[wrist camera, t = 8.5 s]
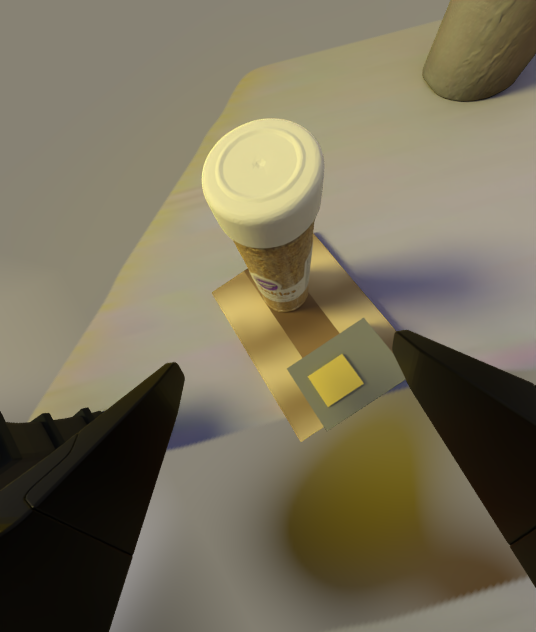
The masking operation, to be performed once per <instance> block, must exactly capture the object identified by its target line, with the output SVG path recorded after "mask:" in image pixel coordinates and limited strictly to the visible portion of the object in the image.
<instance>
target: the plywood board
mask: <svg viewBox="0 0 536 632" xmlns="http://www.w3.org/2000/svg"><path fill="white" fill-rule="evenodd" d="M308 287H309V290H308V296H307V298H306V300H305V302H304V303H303V304H302V305H301V306H300V307H299V308H297V309H296V310H293V311H289V312H278V311H276V310H273V309H272V308H270V307H269V306H268V305H267V304H266V302H265V301H264V299H263V297H262V293H261V292H260V291H259V289H258V287H257V285H256V284H255V282H254V280H253V278H252V276H251V274H250V272H249V269H246V270H245V271H243V272H242V273H240V274H239V275H237V276H236V277H234V278H233V279H231V280H230V281H228V282H227V283H225V284H224V285H222V286H221V287H219V288H218V289H216V290H215V291H213V292H212V294H213V296H214V297H215V299H216V301H217V302H218V304H219V306H220V307H221V309H222V311H223V312H224V314H225V316H226V317H227V319H228V321H229V323H230V324H231V326H232V328H233V329H234V331H235V333H236V334H237V336H238V338H239V339H240V341H241V343H242V344H243V346H244V348H245V349H246V351H247V353H248V354H249V356H250V358H251V359H252V361H253V363H254V364H255V366H256V368H257V369H258V371H259V373H260V374H261V376H262V378H263V379H264V381H265V383H266V385H267V386H268V388H269V390H270V391H271V393H272V395H273V396H274V398H275V400H276V401H277V403H278V405H279V406H280V408H281V410H282V411H283V413H284V415H285V416H286V418H287V420H288V421H289V423H290V425H291V426H292V428H293V430H294V431H295V433H296V435H297V436H298V438H299V440H300V442H302V441H303V440H305V439H306V438H308V437H309V436H311V435H312V434H314V433H315V432H317V431H318V430H320V429H321V428H323V427H324V426H323V425H322V423H321V422H320V420H319V419H318V417H317V415H316V414H315V412H314V411H313V409H312V408H311V406H310V404H309V403H308V401H307V400H306V398H305V397H304V395H303V394H302V392H301V390H300V389H299V387H298V386H297V384H296V383H295V381H294V379H293V378H292V376H291V375H290V373H289V372H288V370H287V368H288V367H290V366H291V365H293V364H294V363H296V362H297V361H299V360H300V359H302V358H303V357H305V356H306V355H308V354H310V353H311V352H313V351H314V350H316V349H317V348H319V347H320V346H322V345H323V344H325V343H326V342H328V341H329V340H331V339H332V338H334V337H335V336H337V335H338V334H340V333H341V332H343V331H344V330H346V329H347V328H349V327H350V326H352V325H353V324H355V323H356V322H358V321H359V320H361V319H362V318H365V320H366V321H367V322H368V323H369V324H370V326H371V327H372V328H373V329H374V331H375V332H376V333H377V334H378V335H379V337H380V338H381V339H382V340H383V342H384V343H385V344H386V345H387V347H388V348H389V349H390V350H391V351H392V345H393V338H394V333H395V332H396V330H395V329H394V328H393V327H392V326H391V325H390V323H389V322H388V321H387V320H386V319H385V317H384V316H383V315H382V314H381V313H380V312H379V310H378V309H377V308H376V307H375V306H374V304H373V303H372V302H371V301H370V300H369V299H368V297H367V296H366V295H365V294H364V293H363V291H362V290H361V289H360V288H359V287H358V286H357V284H356V283H355V282H354V281H353V280H352V278H351V277H350V276H349V275H348V274H347V273H346V271H345V270H344V269H343V268H342V267H341V265H340V264H339V263H338V262H337V261H336V260H335V258H334V257H333V256H332V255H331V254H330V253H329V251H328V250H327V249H326V248H325V247H324V245H323V244H322V243H321V242H320V241H319V240H318V238H317V237H316V236H315V235H314V234H313V248H312V257H311V266H310V277H309V282H308ZM392 353H393V351H392Z"/></svg>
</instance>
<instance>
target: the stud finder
mask: <svg viewBox="0 0 536 632" xmlns="http://www.w3.org/2000/svg"><path fill="white" fill-rule="evenodd" d="M287 370H288V372H289V373H290V375H291V376H292V378H293V379H294V381H295V383H296V384H297V386H298V387H299V389H300V390H301V392H302V394H303V395H304V397H305V398H306V400H307V401H308V403H309V404H310V406H311V408H312V409H313V411H314V412H315V414H316V415H317V417H318V419H319V420H320V422H321V423H322V425H323V426H324V428H325V429H326V431H328V430H330V429H331V428H333V427H334V426H336V425H337V424H339V423H340V422H342V421H343V420H345V419H346V418H348V417H349V416H351V415H352V414H354V413H356V412H357V411H358V410H360V409H362V408H363V407H365V406H366V405H368V404H369V403H371V402H372V401H374V400H375V399H377V398H378V397H380V396H381V395H383V394H384V393H386V392H387V391H389V390H390V389H392V388H393V387H395V386H396V385H398V384H399V383H401V382H402V381H404V380H406V379H405V377H404V375H403V373H402V371H401V369H400V366H399V364H398V362H397V360H396V358H395V356H394V354H393V353H392V351H391V350H390V349H389V348H388V347H387V345H386V344H385V343H384V342H383V340H382V339H381V338H380V337H379V335H378V334H377V333H376V332H375V331H374V329H373V328H372V327H371V326H370V324H369V323H368V322H367V321H366V320H365V318H362V319H361V320H359V321H358V322H356V323H355V324H353V325H352V326H350V327H349V328H347V329H346V330H344V331H343V332H341V333H340V334H338V335H337V336H335V337H334V338H332V339H331V340H329V341H328V342H326V343H325V344H323V345H322V346H320V347H319V348H317V349H316V350H314V351H313V352H311V353H310V354H308V355H306V356H305V357H303V358H302V359H300V360H299V361H297V362H296V363H294V364H293V365H291V366H290V367H288V368H287Z"/></svg>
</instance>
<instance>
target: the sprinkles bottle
mask: <svg viewBox="0 0 536 632" xmlns="http://www.w3.org/2000/svg"><path fill="white" fill-rule="evenodd" d="M323 178H324V158H323V153H322V150H321V147H320V145H319V143H318V142H317V140H316V139H315V137H314V136H313V135H312V134H311V133H310V132H309V131H308V130H306V129H305V128H304V127H302V126H300V125H298V124H296V123H294V122H291V121H288V120H283V119H271V118H270V119H260V120H255V121H251V122H248V123H246V124H243V125H241V126H239V127H237V128H235V129H233V130H232V131H230V132H229V133H227V134H226V135H225V136H223V137H222V138H221V139H220V140H219V141H218V142H217V143H216V145H215V146H214V147H213V148H212V150H211V151H210V153H209V155H208V156H207V159H206V161H205V164H204V167H203V172H202V188H203V192H204V196H205V199H206V201H207V203H208V205H209V207H210V208H211V210H212V212H213V214H214V216H215V218H216V219H217V221H218V223H219V225H220V226H221V228H222V230H223V231H224V232H225V233H226V234H227V235H228V236H229V237H230V238H231V239H232V240H233V241H234V243H235V244H236V247H237V249H238V251H239V252H240V254H241V256H242V258H243V259H244V261H245V263H246V265H247V267H248V269H249V272H250V274H251V276H252V278H253V280H254V282H255V284H256V285H257V287H258V289H259V291H260V292H261V293H262V297H263V299H264V301H265V302H266V304H267V305H268V306H269V307H270V308H272V309H273V310H276V311H278V312H289V311H293V310H296V309H297V308H299V307H300V306H301V305H302V304H303V303H304V302H305V300H306V298H307V296H308V290H309V287H308V282H309V277H310V266H311V257H312V248H313V229H314V221H315V218H316V216H317V213H318V211H319V208H320V204H321V196H322V188H323Z"/></svg>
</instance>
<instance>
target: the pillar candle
mask: <svg viewBox="0 0 536 632" xmlns="http://www.w3.org/2000/svg"><path fill="white" fill-rule="evenodd" d="M535 54H536V0H450V2H449V5H448V8H447V10H446V13H445V15H444V17H443V20H442V22H441V25H440V27H439V30H438V33H437V35H436V38H435V40H434V43H433V45H432V47H431V50H430V52H429V55H428V57H427V60H426V63H425V65H424V68H423V78H424V80H425V81H426V82H427V83H428V84H429V86H430V87H431V88H432V89H433V91H434V92H435V93H436V94H438V95H440V96H441V97H444V98H447V99H450V100H458V101H474V100H480V99H484V98H488V97H490V96H493V95H495V94H497V93H499V92H501V91H503V90H505V89H506V88H508V87H509V86H511V85H512V84H513V83H514V82H515V80H516V79H517V78H518V76H519V75H520V73H521V72H522V71H523V70H524V68H525V67H526V66H527V64H528V63H529V62H530V61H531V59H532V58H533V56H534V55H535Z"/></svg>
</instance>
